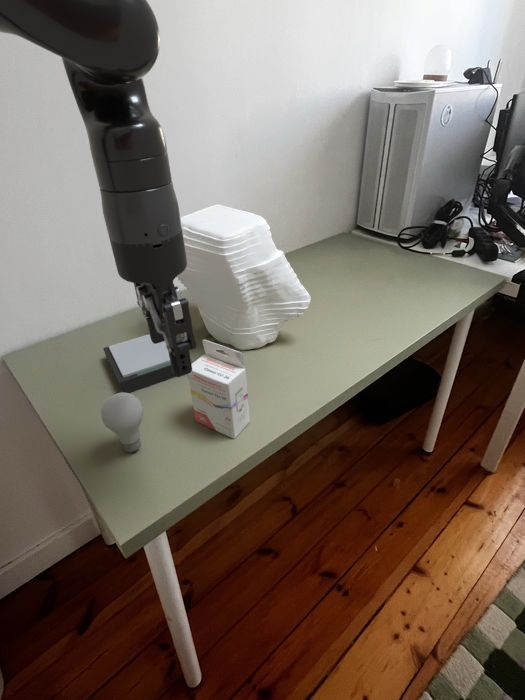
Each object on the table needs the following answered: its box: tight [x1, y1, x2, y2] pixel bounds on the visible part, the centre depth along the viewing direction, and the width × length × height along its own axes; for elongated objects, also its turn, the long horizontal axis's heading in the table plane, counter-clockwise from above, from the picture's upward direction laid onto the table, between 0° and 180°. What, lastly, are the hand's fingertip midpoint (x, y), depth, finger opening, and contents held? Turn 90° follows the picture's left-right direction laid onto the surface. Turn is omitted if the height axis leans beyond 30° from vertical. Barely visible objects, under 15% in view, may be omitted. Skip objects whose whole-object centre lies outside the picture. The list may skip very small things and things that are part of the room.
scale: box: [102, 333, 177, 394], centre depth 89 cm, size 14×14×4 cm
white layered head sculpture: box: [176, 203, 312, 351], centre depth 91 cm, size 21×27×26 cm
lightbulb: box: [100, 392, 144, 453], centre depth 67 cm, size 6×6×11 cm
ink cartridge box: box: [187, 339, 251, 440], centre depth 70 cm, size 9×5×15 cm, turn 58°
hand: (171, 356), depth 54 cm, fingers open, 8 cm apart
